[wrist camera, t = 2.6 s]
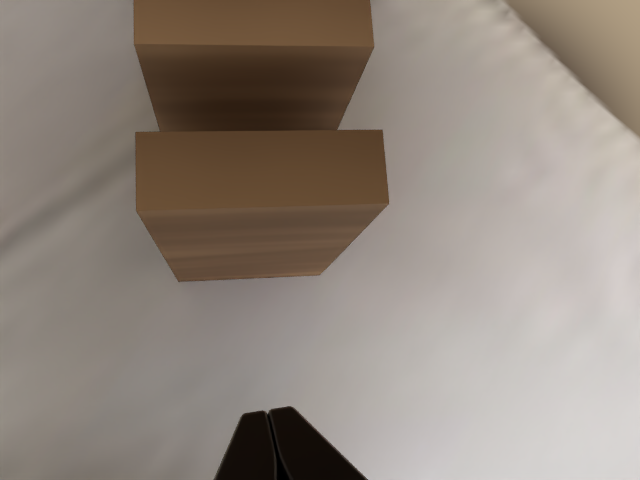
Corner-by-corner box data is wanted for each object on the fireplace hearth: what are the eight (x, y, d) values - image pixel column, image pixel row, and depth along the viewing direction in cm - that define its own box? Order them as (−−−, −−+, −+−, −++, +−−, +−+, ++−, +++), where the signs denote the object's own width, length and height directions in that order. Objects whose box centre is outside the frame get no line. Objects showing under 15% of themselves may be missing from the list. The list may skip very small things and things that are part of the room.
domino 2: (313, 182, 23) (374, 46, 13) (176, 185, 22) (133, 43, 12) (310, 141, 23) (368, -20, 14) (175, 143, 22) (133, -27, 13)
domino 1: (319, 275, 22) (389, 203, 13) (178, 281, 21) (136, 210, 12) (316, 232, 23) (382, 129, 13) (177, 237, 22) (135, 131, 12)
